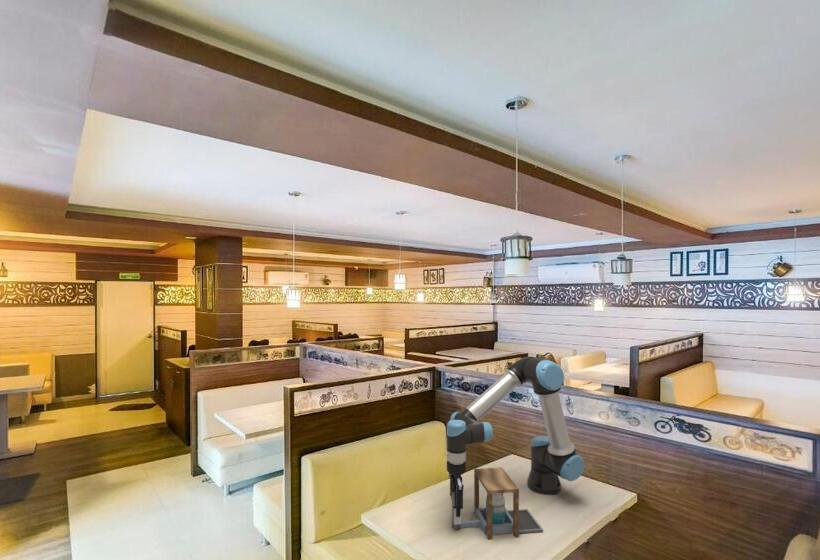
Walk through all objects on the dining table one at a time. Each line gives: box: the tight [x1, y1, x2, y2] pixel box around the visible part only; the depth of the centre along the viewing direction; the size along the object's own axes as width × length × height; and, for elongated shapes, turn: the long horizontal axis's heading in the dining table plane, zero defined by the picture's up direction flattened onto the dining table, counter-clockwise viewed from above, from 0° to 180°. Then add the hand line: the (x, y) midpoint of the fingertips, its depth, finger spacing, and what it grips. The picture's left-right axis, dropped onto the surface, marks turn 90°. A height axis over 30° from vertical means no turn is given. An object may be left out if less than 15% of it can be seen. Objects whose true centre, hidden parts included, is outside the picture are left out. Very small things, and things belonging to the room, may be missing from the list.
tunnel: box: [473, 467, 520, 540], centre depth 167 cm, size 12×19×18 cm, turn 7°
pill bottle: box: [485, 493, 506, 525], centre depth 167 cm, size 8×7×14 cm
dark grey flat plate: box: [507, 508, 544, 535], centre depth 168 cm, size 10×15×1 cm, turn 7°
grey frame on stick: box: [451, 492, 513, 536], centre depth 166 cm, size 24×13×13 cm, turn 97°
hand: (456, 520), depth 165 cm, fingers open, 4 cm apart
